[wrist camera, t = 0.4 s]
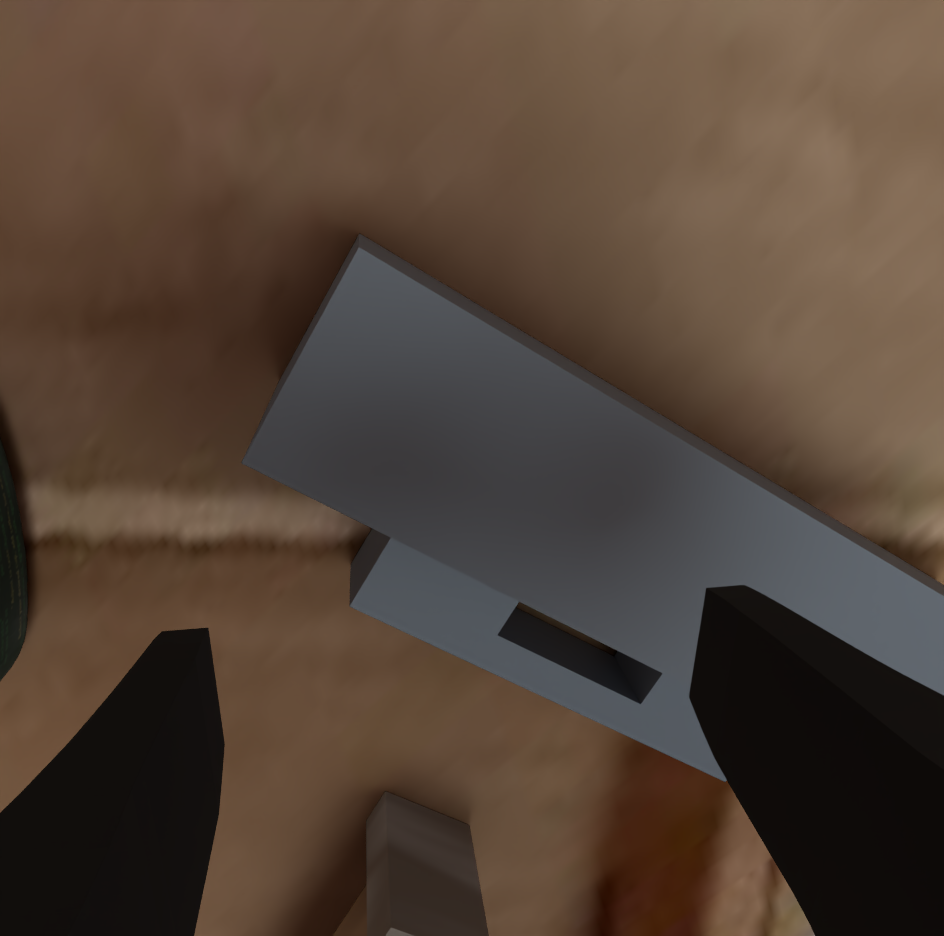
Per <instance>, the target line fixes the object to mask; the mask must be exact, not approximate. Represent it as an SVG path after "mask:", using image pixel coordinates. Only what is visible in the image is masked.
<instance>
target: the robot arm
mask: <svg viewBox="0 0 944 936" xmlns="http://www.w3.org/2000/svg"><path fill="white" fill-rule="evenodd" d="M689 699H690V701H691V704H692V706H693V709H694V711H695V714H696V716H697V719H698V721H699V724H700V726H701V729H702V731H703V733H704V736H705V738H706V740H707V743H708V745H709V747H710V749H711V752H712V754H713V756H714V758H715V760H716V762H717V764H718V765H719V767H720V769H721V771H722V772H723V774H724V776H725V778H726V779H727V781H728V783H729V785H730V786H731V788H732V790H733V791H734V793H735V795H736V797H737V798H738V800H739V802H740V804H741V805H742V807H743V809H744V810H745V812H746V814H747V815H748V817H749V819H750V821H751V822H752V824H753V826H754V827H755V829H756V831H757V832H758V834H759V836H760V837H761V839H762V841H763V842H764V844H765V846H766V848H767V849H768V851H769V853H770V854H771V856H772V858H773V859H774V861H775V863H776V865H777V866H778V868H779V870H780V871H781V873H782V875H783V876H784V878H785V880H786V881H787V883H788V885H789V887H790V888H791V890H792V892H793V893H794V895H795V897H796V899H797V901H798V903H799V905H800V907H801V908H802V910H803V912H804V914H805V916H806V918H807V920H808V921H809V923H810V925H811V927H812V930H813V932H814V934H815V936H944V695H942V694H940V693H938V692H936V691H934V690H932V689H930V688H929V687H927V686H925V685H923V684H921V683H919V682H917V681H915V680H913V679H911V678H909V677H907V676H905V675H903V674H902V673H900V672H898V671H896V670H894V669H892V668H891V667H889V666H887V665H885V664H883V663H882V662H880V661H878V660H876V659H874V658H873V657H871V656H869V655H867V654H866V653H864V652H862V651H860V650H859V649H857V648H855V647H853V646H852V645H850V644H848V643H846V642H845V641H843V640H841V639H840V638H838V637H836V636H834V635H833V634H831V633H829V632H828V631H826V630H824V629H823V628H821V627H819V626H817V625H816V624H814V623H812V622H811V621H809V620H807V619H806V618H804V617H802V616H800V615H799V614H797V613H795V612H794V611H792V610H790V609H789V608H787V607H785V606H783V605H782V604H780V603H778V602H776V601H775V600H773V599H771V598H769V597H767V596H766V595H764V594H762V593H760V592H758V591H756V590H754V589H752V588H750V587H748V586H746V585H736V586H723V587H711V588H706V592H705V598H704V604H703V611H702V617H701V623H700V630H699V636H698V642H697V648H696V655H695V661H694V667H693V673H692V680H691V686H690V692H689ZM224 745H225V744H224V736H223V729H222V722H221V715H220V708H219V701H218V694H217V687H216V679H215V672H214V665H213V658H212V651H211V644H210V637H209V630H208V628H199V629H187V630H174V631H162V632H161V633H160V634H159V635H158V636H157V637H156V638H155V639H154V640H153V641H152V643H151V644H150V645H149V646H148V648H147V649H146V650H145V651H144V653H143V654H142V655H141V656H140V658H139V659H138V660H137V662H136V663H135V664H134V665H133V667H132V668H131V669H130V670H129V672H128V673H127V674H126V675H125V677H124V678H123V679H122V680H121V682H120V683H119V684H118V685H117V686H116V688H115V689H114V690H113V691H112V693H111V694H110V695H109V696H108V698H107V699H106V700H105V701H104V702H103V703H102V705H101V706H100V707H99V708H98V709H97V710H96V712H95V713H94V714H93V715H92V716H91V717H90V719H89V720H88V721H87V722H86V723H85V724H84V725H83V727H82V728H81V729H80V730H79V731H78V732H77V734H76V735H75V736H74V737H73V738H72V739H71V740H70V742H69V743H68V744H67V745H66V746H65V747H64V748H63V749H62V750H61V751H60V752H59V753H58V754H57V755H56V757H55V758H54V759H53V760H52V761H51V762H50V763H49V764H48V765H47V766H46V767H45V768H44V769H43V770H42V771H41V772H40V773H39V774H38V775H37V776H36V777H35V779H34V780H33V781H32V782H31V783H30V784H29V785H28V786H27V787H26V788H25V789H24V790H23V791H22V792H21V793H20V794H19V795H18V796H17V797H16V798H15V799H14V800H13V801H12V802H11V803H10V804H9V805H8V806H7V807H6V808H5V809H4V810H3V811H2V812H1V813H0V936H194V933H195V928H196V923H197V918H198V914H199V909H200V904H201V899H202V894H203V889H204V885H205V880H206V875H207V870H208V865H209V860H210V855H211V850H212V845H213V840H214V835H215V830H216V825H217V820H218V815H219V806H220V795H221V784H222V771H223V758H224Z"/></svg>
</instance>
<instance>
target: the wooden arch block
mask: <svg viewBox="0 0 944 936" xmlns="http://www.w3.org/2000/svg"><path fill="white" fill-rule="evenodd" d="M366 869H367V884H366V886H365V888H364V889H363V891H362V892H361V894H360V895H359V897H358V898H357V900H356V901H355V903H354V904H353V906H352V907H351V909H350V910H349V912H348V913H347V915H346V916H345V918H344V919H343V921H342V922H341V924H340V925H339V927H338V928H337V930H336V931H335V933H334V934H333V936H489V935H488V929H487V923H486V917H485V912H484V906H483V900H482V895H481V889H480V883H479V877H478V872H477V866H476V860H475V855H474V849H473V843H472V837H471V832H470V826H469V825H468V824H465V823H463V822H460V821H458V820H455V819H453V818H450V817H448V816H445V815H443V814H440V813H438V812H436V811H433V810H431V809H428V808H426V807H423V806H421V805H418V804H416V803H413V802H411V801H408V800H406V799H404V798H401V797H399V796H396V795H394V794H391V793H389V792H386V791H385V792H384V794H383V795H382V797H381V799H380V800H379V802H378V803H377V805H376V806H375V808H374V809H373V811H372V812H371V814H370V816H369V817H368V819H367V820H366Z"/></svg>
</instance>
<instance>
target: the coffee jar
mask: <svg viewBox="0 0 944 936" xmlns="http://www.w3.org/2000/svg"><path fill="white" fill-rule="evenodd" d="M27 579H28V578H27V566H26V552H25V546H24V541H23V533H22V526H21V519H20V512H19V507H18V502H17V497H16V492H15V487H14V483H13V479H12V475H11V472H10V469H9V465H8V461H7V458H6V454H5V451H4V448H3V445H2V442H1V439H0V681H1V680H2V678H3V677H4V676H5V675H6V673H7V672H8V671H9V670H10V668H11V667H12V665H13V664H14V662H15V661H16V659H17V657H18V655H19V653H20V651H21V648H22V645H23V643H24V640H25V635H26V628H27V613H28V592H27Z"/></svg>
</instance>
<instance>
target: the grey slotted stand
mask: <svg viewBox="0 0 944 936" xmlns="http://www.w3.org/2000/svg"><path fill="white" fill-rule="evenodd" d="M241 463H242V464H244V465H246V466H248V467H250V468H252V469H254V470H256V471H258V472H260V473H262V474H264V475H266V476H268V477H270V478H272V479H274V480H276V481H278V482H280V483H282V484H284V485H286V486H288V487H290V488H292V489H294V490H296V491H298V492H300V493H302V494H304V495H306V496H308V497H310V498H312V499H314V500H316V501H318V502H320V503H322V504H324V505H326V506H328V507H330V508H332V509H334V510H336V511H338V512H340V513H342V514H344V515H346V516H348V517H350V518H352V519H354V520H356V521H358V522H360V523H362V524H364V525H366V526H368V527H370V528H372V530H371V531H370V533H369V535H368V536H367V538H366V540H365V541H364V543H363V545H362V546H361V548H360V550H359V551H358V553H357V555H356V556H355V558H354V560H353V562H352V563H351V571H350V607H352V608H354V609H356V610H358V611H360V612H362V613H365V614H367V615H369V616H371V617H373V618H375V619H377V620H380V621H382V622H384V623H386V624H388V625H390V626H392V627H395V628H397V629H399V630H401V631H403V632H405V633H407V634H410V635H412V636H414V637H416V638H418V639H420V640H422V641H425V642H427V643H429V644H431V645H433V646H435V647H437V648H440V649H442V650H444V651H446V652H448V653H450V654H452V655H455V656H457V657H459V658H461V659H463V660H465V661H467V662H470V663H472V664H474V665H476V666H478V667H480V668H482V669H485V670H487V671H489V672H491V673H493V674H495V675H497V676H500V677H502V678H504V679H506V680H508V681H510V682H512V683H515V684H517V685H519V686H521V687H523V688H525V689H527V690H530V691H532V692H534V693H536V694H538V695H540V696H542V697H545V698H547V699H549V700H551V701H553V702H555V703H557V704H560V705H562V706H564V707H566V708H568V709H570V710H572V711H575V712H577V713H579V714H581V715H583V716H585V717H587V718H590V719H592V720H594V721H596V722H598V723H600V724H602V725H605V726H607V727H609V728H611V729H613V730H615V731H617V732H620V733H622V734H624V735H626V736H628V737H630V738H632V739H635V740H637V741H639V742H641V743H643V744H645V745H647V746H650V747H652V748H654V749H656V750H658V751H660V752H662V753H665V754H667V755H669V756H671V757H673V758H675V759H677V760H680V761H682V762H684V763H686V764H688V765H690V766H692V767H695V768H697V769H699V770H701V771H703V772H705V773H707V774H710V775H712V776H714V777H716V778H718V779H720V780H722V781H724V782H726V780H727V779H726V778H725V776H724V774H723V772H722V771H721V769H720V767H719V765H718V764H717V762H716V760H715V758H714V756H713V754H712V752H711V749H710V747H709V745H708V743H707V740H706V738H705V736H704V733H703V731H702V729H701V726H700V724H699V721H698V719H697V716H696V714H695V711H694V709H693V706H692V704H691V701H690V699H689V692H690V686H691V680H692V673H693V667H694V661H695V655H696V648H697V642H698V636H699V630H700V623H701V617H702V611H703V604H704V598H705V592H706V588H711V587H723V586H736V585H746V586H748V587H750V588H752V589H754V590H756V591H758V592H760V593H762V594H764V595H766V596H767V597H769V598H771V599H773V600H775V601H776V602H778V603H780V604H782V605H783V606H785V607H787V608H789V609H790V610H792V611H794V612H795V613H797V614H799V615H800V616H802V617H804V618H806V619H807V620H809V621H811V622H812V623H814V624H816V625H817V626H819V627H821V628H823V629H824V630H826V631H828V632H829V633H831V634H833V635H834V636H836V637H838V638H840V639H841V640H843V641H845V642H846V643H848V644H850V645H852V646H853V647H855V648H857V649H859V650H860V651H862V652H864V653H866V654H867V655H869V656H871V657H873V658H874V659H876V660H878V661H880V662H882V663H883V664H885V665H887V666H889V667H891V668H892V669H894V670H896V671H898V672H900V673H902V674H903V675H905V676H907V677H909V678H911V679H913V680H915V681H917V682H919V683H921V684H923V685H925V686H927V687H929V688H930V689H932V690H934V691H936V692H938V693H940V694H942V695H944V585H943V584H941V583H940V582H938V581H936V580H935V579H933V578H931V577H930V576H928V575H926V574H925V573H923V572H921V571H920V570H918V569H916V568H915V567H913V566H912V565H910V564H908V563H907V562H905V561H903V560H902V559H900V558H898V557H897V556H895V555H893V554H892V553H890V552H888V551H887V550H885V549H883V548H882V547H880V546H878V545H877V544H875V543H873V542H872V541H870V540H868V539H867V538H865V537H863V536H862V535H860V534H858V533H857V532H855V531H853V530H852V529H850V528H848V527H847V526H845V525H843V524H842V523H840V522H838V521H837V520H835V519H833V518H832V517H830V516H828V515H827V514H825V513H823V512H822V511H820V510H818V509H817V508H815V507H813V506H812V505H810V504H808V503H807V502H805V501H803V500H802V499H800V498H799V497H797V496H795V495H794V494H792V493H790V492H789V491H787V490H785V489H784V488H782V487H780V486H779V485H777V484H775V483H774V482H772V481H770V480H769V479H767V478H765V477H764V476H762V475H760V474H759V473H757V472H755V471H754V470H752V469H750V468H749V467H747V466H745V465H744V464H742V463H740V462H739V461H737V460H735V459H734V458H732V457H730V456H729V455H727V454H725V453H724V452H722V451H720V450H719V449H717V448H715V447H714V446H712V445H710V444H709V443H707V442H705V441H704V440H702V439H700V438H699V437H697V436H695V435H694V434H692V433H690V432H689V431H687V430H686V429H684V428H682V427H681V426H679V425H677V424H676V423H674V422H672V421H671V420H669V419H667V418H666V417H664V416H662V415H661V414H659V413H657V412H656V411H654V410H652V409H651V408H649V407H647V406H646V405H644V404H642V403H641V402H639V401H637V400H636V399H634V398H632V397H631V396H629V395H627V394H626V393H624V392H622V391H621V390H619V389H617V388H616V387H614V386H612V385H611V384H609V383H607V382H606V381H604V380H602V379H601V378H599V377H597V376H596V375H594V374H592V373H591V372H589V371H587V370H586V369H584V368H582V367H581V366H579V365H577V364H576V363H574V362H573V361H571V360H569V359H568V358H566V357H564V356H563V355H561V354H559V353H558V352H556V351H554V350H553V349H551V348H549V347H548V346H546V345H544V344H543V343H541V342H539V341H538V340H536V339H534V338H533V337H531V336H529V335H528V334H526V333H524V332H523V331H521V330H519V329H518V328H516V327H514V326H513V325H511V324H509V323H508V322H506V321H504V320H503V319H501V318H499V317H498V316H496V315H494V314H493V313H491V312H489V311H488V310H486V309H484V308H483V307H481V306H479V305H478V304H476V303H474V302H473V301H471V300H469V299H468V298H466V297H464V296H463V295H461V294H460V293H458V292H456V291H455V290H453V289H451V288H450V287H448V286H446V285H445V284H443V283H441V282H440V281H438V280H436V279H435V278H433V277H431V276H430V275H428V274H426V273H425V272H423V271H421V270H420V269H418V268H416V267H415V266H413V265H411V264H410V263H408V262H406V261H405V260H403V259H401V258H400V257H398V256H396V255H395V254H393V253H391V252H390V251H388V250H386V249H385V248H383V247H381V246H380V245H378V244H376V243H375V242H373V241H371V240H370V239H368V238H366V237H365V236H363V235H361V234H360V233H359V235H358V237H357V239H356V241H355V242H354V244H353V246H352V248H351V250H350V252H349V253H348V255H347V257H346V259H345V261H344V263H343V265H342V266H341V268H340V270H339V272H338V274H337V276H336V277H335V279H334V281H333V283H332V285H331V287H330V288H329V290H328V292H327V294H326V296H325V298H324V300H323V301H322V303H321V305H320V307H319V309H318V311H317V312H316V314H315V316H314V318H313V320H312V322H311V323H310V325H309V327H308V329H307V331H306V333H305V334H304V336H303V338H302V340H301V342H300V344H299V346H298V347H297V349H296V351H295V353H294V355H293V357H292V358H291V360H290V362H289V364H288V366H287V368H286V369H285V371H284V373H283V375H282V377H281V379H280V380H279V382H278V385H277V387H276V389H275V391H274V393H273V395H272V398H271V400H270V402H269V404H268V406H267V408H266V411H265V413H264V415H263V417H262V419H261V421H260V424H259V426H258V428H257V430H256V432H255V434H254V437H253V439H252V441H251V443H250V445H249V447H248V449H247V452H246V454H245V456H244V458H243V460H242V462H241ZM519 602H521V603H523V604H525V605H527V606H529V607H531V608H533V609H535V610H537V611H539V612H541V613H543V614H545V615H547V616H549V617H551V618H553V619H555V620H557V621H559V622H561V623H563V624H565V625H567V626H569V627H571V628H573V629H575V630H577V631H579V632H581V633H583V634H585V635H587V636H589V637H591V638H593V639H595V640H597V641H599V642H601V643H603V644H605V645H607V646H609V647H611V648H613V649H615V650H617V653H616V654H615V656H612V655H610V654H608V653H606V652H604V651H602V650H600V649H598V648H596V647H594V646H592V645H590V644H588V643H586V642H584V641H582V640H580V639H578V638H576V637H574V636H572V635H570V634H568V633H566V632H564V631H562V630H560V629H558V628H556V627H554V626H552V625H550V624H548V623H546V622H544V621H542V620H540V619H538V618H535V617H533V616H531V615H529V614H527V613H525V612H523V611H521V610H519V609H517V608H515V607H516V606H517V604H518V603H519Z"/></svg>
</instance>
